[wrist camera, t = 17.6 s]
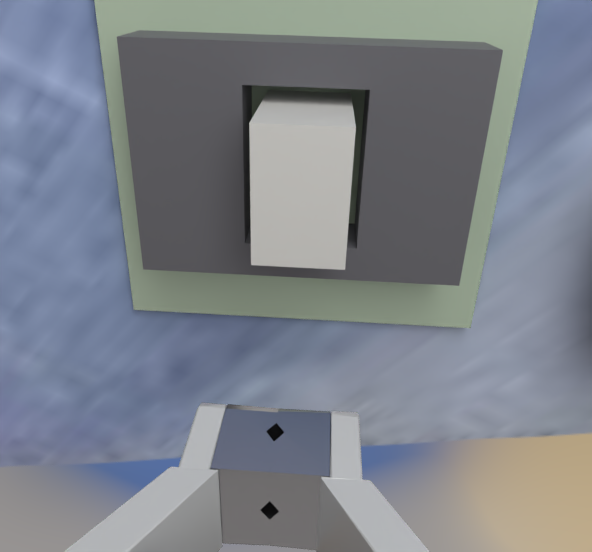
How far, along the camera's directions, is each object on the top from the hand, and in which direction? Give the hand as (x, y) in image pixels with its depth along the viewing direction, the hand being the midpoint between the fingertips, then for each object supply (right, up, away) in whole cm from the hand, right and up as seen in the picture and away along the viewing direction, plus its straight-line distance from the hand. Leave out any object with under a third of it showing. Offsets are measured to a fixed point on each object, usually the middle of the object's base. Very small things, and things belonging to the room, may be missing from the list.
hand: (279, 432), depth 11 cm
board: (+1, +10, +19) cm, 21 cm away
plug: (+1, +9, +18) cm, 20 cm away
